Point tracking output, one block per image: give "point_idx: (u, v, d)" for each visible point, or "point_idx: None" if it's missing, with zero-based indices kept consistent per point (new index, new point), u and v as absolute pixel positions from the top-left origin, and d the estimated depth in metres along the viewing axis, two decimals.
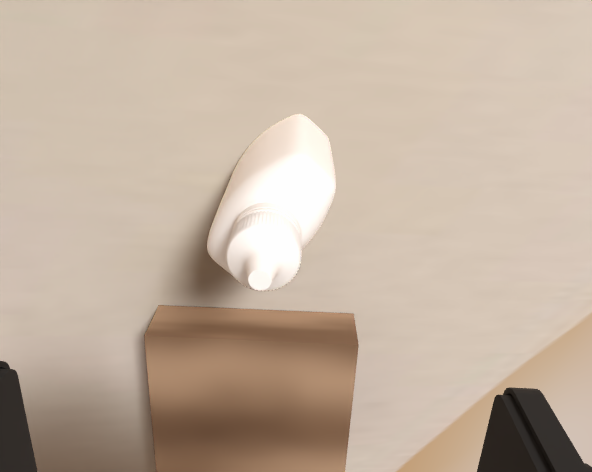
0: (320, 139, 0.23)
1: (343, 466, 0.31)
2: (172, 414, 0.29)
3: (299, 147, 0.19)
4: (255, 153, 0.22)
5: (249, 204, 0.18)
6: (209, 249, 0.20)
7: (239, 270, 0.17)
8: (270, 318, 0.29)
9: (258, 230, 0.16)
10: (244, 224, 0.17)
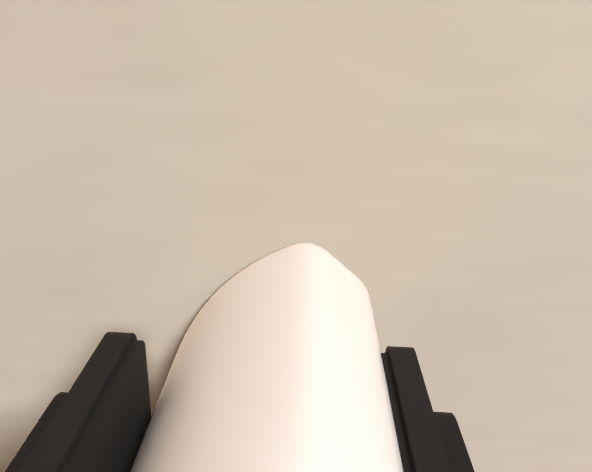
0: (356, 322, 0.10)
1: None
2: None
3: (311, 443, 0.07)
4: (207, 372, 0.10)
5: None
6: None
7: None
8: None
9: None
10: None
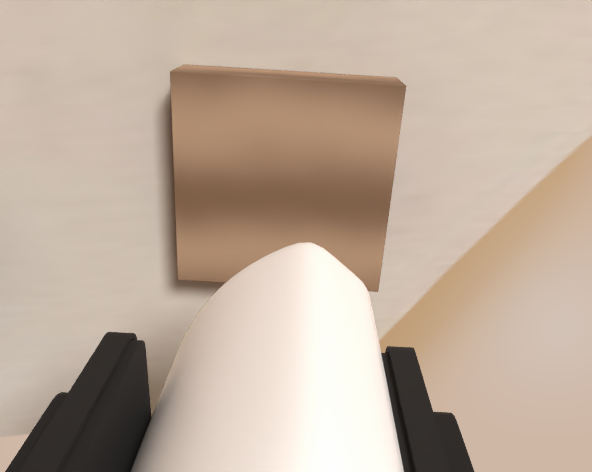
0: (356, 322, 0.10)
1: (381, 249, 0.28)
2: (197, 178, 0.27)
3: (311, 442, 0.07)
4: (207, 372, 0.10)
5: None
6: None
7: None
8: (306, 74, 0.27)
9: None
10: None
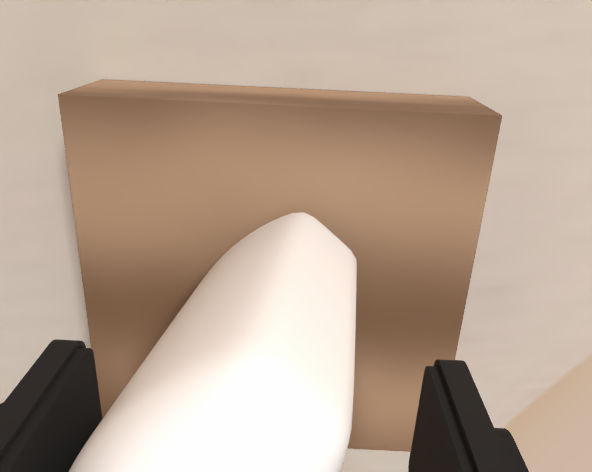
0: (333, 270, 0.12)
1: None
2: (123, 279, 0.15)
3: (261, 326, 0.08)
4: (194, 303, 0.11)
5: None
6: None
7: None
8: (312, 93, 0.15)
9: None
10: None
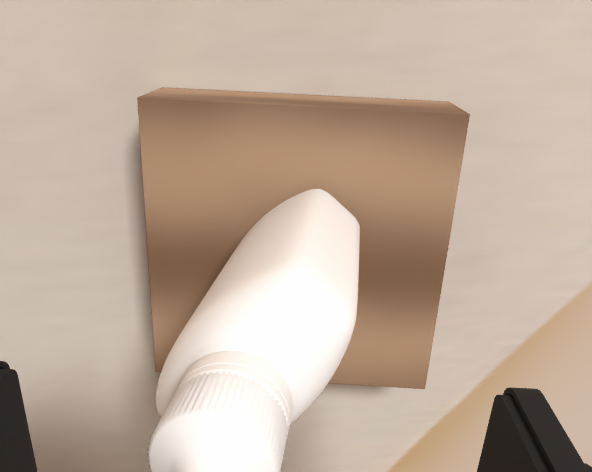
0: (342, 228, 0.16)
1: (430, 335, 0.21)
2: (178, 241, 0.20)
3: (298, 253, 0.12)
4: (244, 250, 0.15)
5: (208, 349, 0.11)
6: (156, 405, 0.13)
7: None
8: (327, 98, 0.20)
9: (200, 421, 0.09)
10: (182, 402, 0.10)
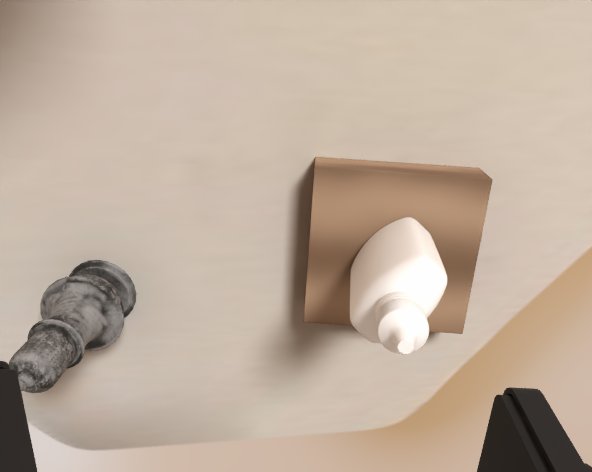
0: (428, 239, 0.31)
1: (467, 301, 0.36)
2: (327, 244, 0.35)
3: (421, 251, 0.28)
4: (382, 249, 0.30)
5: (388, 291, 0.27)
6: (353, 320, 0.28)
7: (386, 339, 0.25)
8: (411, 166, 0.35)
9: (402, 312, 0.24)
10: (390, 307, 0.25)
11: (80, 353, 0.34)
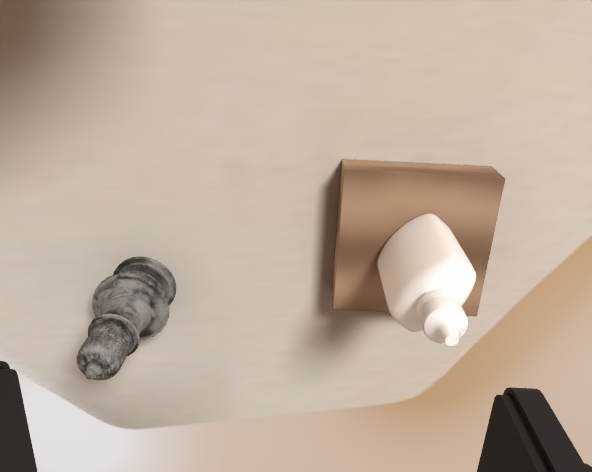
0: (451, 235, 0.35)
1: (481, 287, 0.40)
2: (355, 239, 0.39)
3: (453, 251, 0.31)
4: (413, 247, 0.34)
5: (427, 289, 0.30)
6: (394, 313, 0.32)
7: (432, 332, 0.29)
8: (430, 166, 0.38)
9: (446, 310, 0.28)
10: (434, 305, 0.29)
11: (135, 343, 0.37)
